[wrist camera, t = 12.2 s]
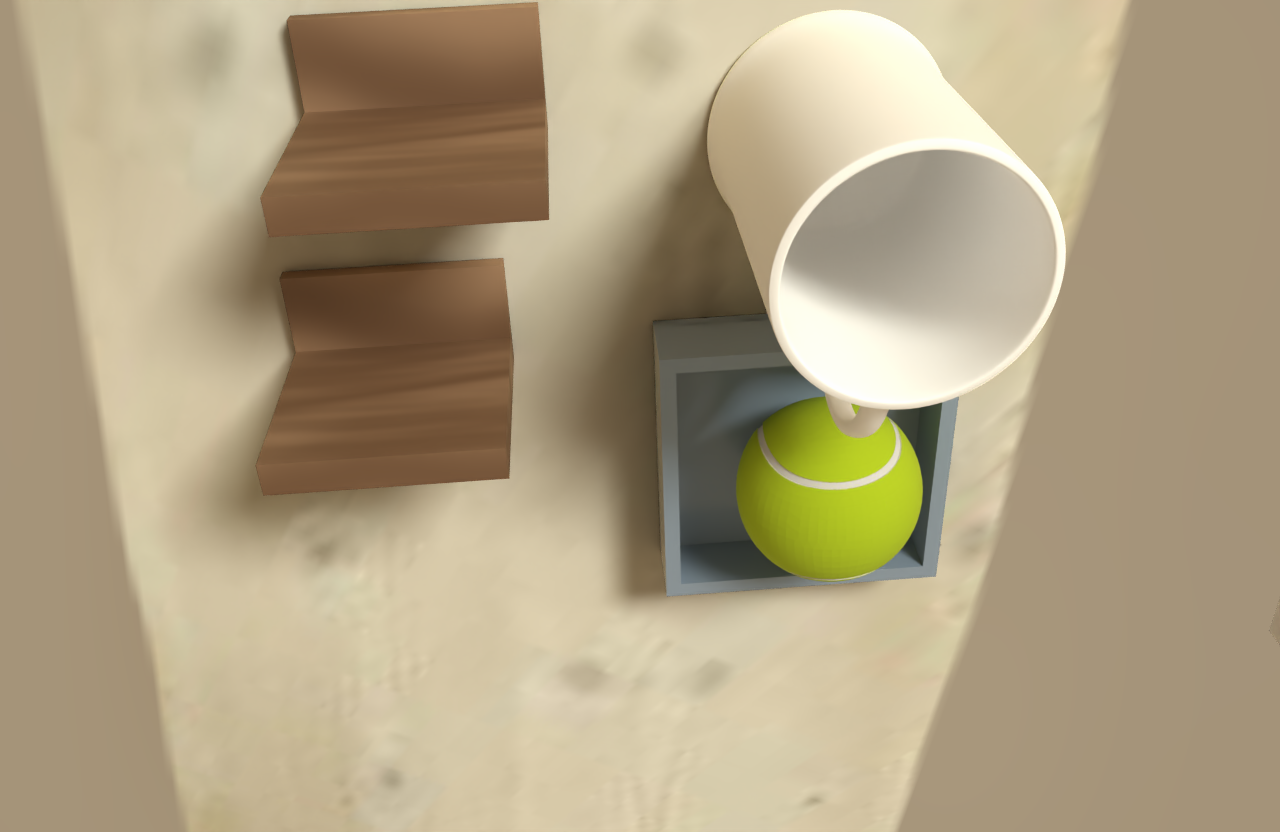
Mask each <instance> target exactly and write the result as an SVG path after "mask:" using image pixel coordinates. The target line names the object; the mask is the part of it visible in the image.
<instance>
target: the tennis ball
mask: <svg viewBox="0 0 1280 832" xmlns="http://www.w3.org/2000/svg"><path fill="white" fill-rule="evenodd" d="M851 405H852V408H853V410H854V412H855V414H857V412H858V410H859V408H860V406H859V405H855V404H851ZM922 495H923V484H922V476H921V470H920V466H919V462H918V459H917V456H916V454H915V452H914V449H913V447H912V445H911V443H910V442H909V440H908V439H907V437H906V435H905V434H904V433H903V431H902V430H901V429H900V428H899V427H898V425H897V424H896V423H895V422H894V421H893V420H891V419H890V418H889V417H887V416H886V418H885V420H884V421H883V423H882V425H881V426H880V428H879V429H878V430H877V431H876V432H875V433H873V434H872V435H870V436H868V437H864V438H854V437H850V436H847V435H845V434H844V433H842V432H841V431H840V430H839V428H838V427H837V426H836V424H835V422H834V420H833V418H832V416H831V414H830V411H829V408H828V404H827V401H826V397H825V396H823V397H814V398H809V399H804V400H801V401H797V402H795V403H792V404H790V405H788V406H785V407H784V408H782V409H780V410H778V411H777V412H775V413H774V414H772V415H771V416H770V417H768V418H767V419H766V420H765V421H764V422H763V425H762V426H761V427H760V428H757V429H756V430H755V432H754V433H753V434H752V436H751V437H750V439H749V441H748V443H747V445H746V447H745V449H744V451H743V453H742V456H741V459H740V462H739V466H738V472H737V479H736V497H737V504H738V509H739V513H740V516H741V519H742V522H743V524H744V527H745V529H746V531H747V533H748V535H749V536H750V538H751V539H752V541H753V542H754V544H755V545H756V547H757V548H758V549H759V550H760V551H761V552H762V553H763V554H764V555H765V556H766V557H767V558H768V559H769V560H770V561H771V562H773V563H774V564H775V565H777V566H778V567H780V568H782V569H783V570H785V571H787V572H789V573H791V574H793V575H795V576H798V577H801V578H805V579H809V580H814V581H822V582H838V581H846V580H851V579H855V578H859V577H862V576H865V575H867V574H869V573H871V572H873V571H875V570H877V569H879V568H880V567H882V566H883V565H885V564H886V563H887V562H889V561H890V560H891V559H892V558H893V557H894V556H895V555H896V554H897V553H898V552H899V551H900V550H901V549H902V548H903V546H904V545H905V544H906V542H907V541H908V539H909V537H910V536H911V534H912V532H913V530H914V528H915V525H916V523H917V520H918V517H919V514H920V509H921V504H922Z"/></svg>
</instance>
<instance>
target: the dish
mask: <svg viewBox="0 0 1280 832" xmlns="http://www.w3.org/2000/svg"><path fill="white" fill-rule="evenodd" d="M653 343H654V372H655V402H656V431H657V460H658V490H659V519H660V549H661V557H662V565H663V572H664V580H665V587H666V595H667V596H680V595H693V594H707V593H720V592H734V591H747V590H761V589H774V588H788V587H801V586H815V585H828V584H842V583H855V582H869V581H882V580H896V579H909V578H922V577H936V571H937V563H938V555H939V548H940V540H941V532H942V524H943V516H944V508H945V501H946V493H947V485H948V477H949V469H950V461H951V453H952V446H953V438H954V430H955V422H956V414H957V406H958V399H959V397H956V398H953V399H951V400H948V401H945V402H941V403H938V404H934V405H930V406H925V407H919V408H912V409H898V410H890V409H889V411H888V413H887V415H886V416H887V417H889V418H890V419H891V420H893V421H894V422H895V423H896V424H897V425H898V427H899V428H900V429H901V430H902V431H903V433H904V434H905V435H906V437H907V439H908V440H909V442H910V443H911V445H912V447H913V449H914V452H915V454H916V456H917V459H918V462H919V466H920V470H921V476H922V484H923V495H922V504H921V509H920V514H919V517H918V520H917V523H916V525H915V528H914V530H913V532H912V534H911V536H910V537H909V539H908V541H907V542H906V544H905V545H904V546H903V548H902V549H901V550H900V551H899V552H898V553H897V554H896V555H895V556H894V557H893V558H892V559H891V560H890V561H889V562H887V563H886V564H885V565H883V566H882V567H880V568H879V569H877V570H875V571H873V572H871V573H869V574H867V575H865V576H862V577H859V578H855V579H851V580H846V581H838V582H822V581H814V580H809V579H805V578H801V577H798V576H795V575H793V574H791V573H789V572H787V571H785V570H783V569H782V568H780V567H778V566H777V565H775V564H774V563H773V562H771V561H770V560H769V559H768V558H767V557H766V556H765V555H764V554H763V553H762V552H761V551H760V550H759V549H758V548H757V547H756V545H755V544H754V542H753V541H752V539H751V538H750V536H749V535H748V533H747V531H746V529H745V527H744V524H743V522H742V519H741V516H740V513H739V509H738V504H737V497H736V479H737V472H738V466H739V462H740V459H741V456H742V453H743V451H744V449H745V447H746V445H747V443H748V441H749V439H750V437H751V436H752V434H753V433H754V432H755V430H756V429H757V428H760V427H761V426H762V425H763V422H764V421H765V420H766V419H767V418H768V417H770V416H771V415H772V414H774V413H775V412H777V411H778V410H780V409H782V408H784V407H785V406H788V405H790V404H792V403H795V402H797V401H801V400H804V399H809V398H814V397H823V396H825V392H823V391H822V390H820V389H819V388H817V387H816V386H814V385H813V384H812V383H810V382H809V381H808V380H807V379H805V378H804V377H803V376H802V375H801V374H800V373H799V372H798V371H797V370H796V369H795V367H794V366H793V365H792V364H791V362H790V361H789V360H788V358H787V357H786V355H785V354H784V352H783V350H782V349H781V347H780V345H779V343H778V341H777V338H776V336H775V333H774V331H773V328H772V325H771V322H770V320H769V317H768V314H755V315H740V316H724V317H709V318H693V319H678V320H663V321H653Z"/></svg>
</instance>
